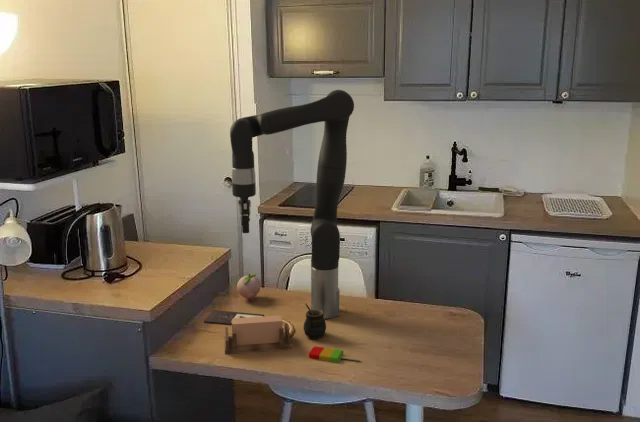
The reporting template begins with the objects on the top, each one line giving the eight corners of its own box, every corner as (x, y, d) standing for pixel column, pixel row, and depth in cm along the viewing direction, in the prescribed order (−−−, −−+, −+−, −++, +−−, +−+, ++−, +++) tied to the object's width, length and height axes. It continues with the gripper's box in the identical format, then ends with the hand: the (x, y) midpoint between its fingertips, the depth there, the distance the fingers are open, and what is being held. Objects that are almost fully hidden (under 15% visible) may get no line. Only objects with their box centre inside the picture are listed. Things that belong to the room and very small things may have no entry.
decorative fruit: (241, 293, 221) (241, 268, 218) (263, 295, 219) (262, 269, 217) (234, 303, 212) (233, 277, 209) (256, 305, 210) (255, 279, 208)
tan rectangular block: (281, 336, 185) (281, 315, 183) (282, 342, 181) (282, 320, 179) (232, 339, 183) (231, 318, 181) (232, 345, 179) (232, 324, 177)
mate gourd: (318, 343, 183) (318, 313, 180) (298, 337, 187) (297, 308, 184) (330, 334, 189) (330, 305, 186) (310, 328, 193) (310, 300, 190)
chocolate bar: (213, 310, 205) (263, 314, 202) (213, 312, 205) (264, 317, 202) (203, 321, 197) (256, 326, 193) (204, 323, 197) (256, 328, 194)
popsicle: (313, 351, 179) (313, 345, 179) (361, 358, 175) (362, 352, 175) (307, 359, 174) (307, 353, 174) (357, 367, 170) (357, 361, 169)
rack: (288, 335, 188) (288, 317, 186) (291, 348, 179) (291, 330, 178) (224, 339, 185) (223, 321, 183) (224, 353, 176) (224, 334, 175)
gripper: (256, 185, 186) (258, 235, 190) (254, 176, 199) (255, 222, 203) (232, 186, 185) (234, 236, 189) (231, 177, 198) (233, 223, 202)
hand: (245, 229), depth 196 cm, fingers open, 8 cm apart
